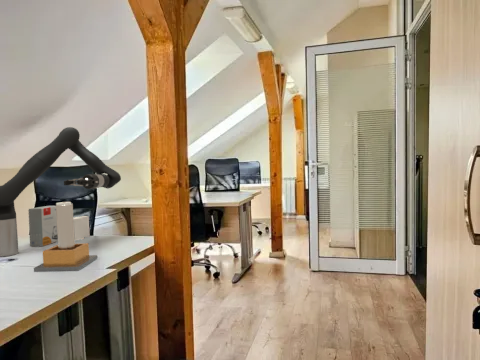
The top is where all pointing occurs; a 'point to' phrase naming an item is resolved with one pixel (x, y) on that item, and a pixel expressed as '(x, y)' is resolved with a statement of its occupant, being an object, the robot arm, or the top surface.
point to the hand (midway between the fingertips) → (72, 183)
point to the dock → (66, 259)
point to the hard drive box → (42, 225)
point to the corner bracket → (81, 227)
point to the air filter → (65, 226)
